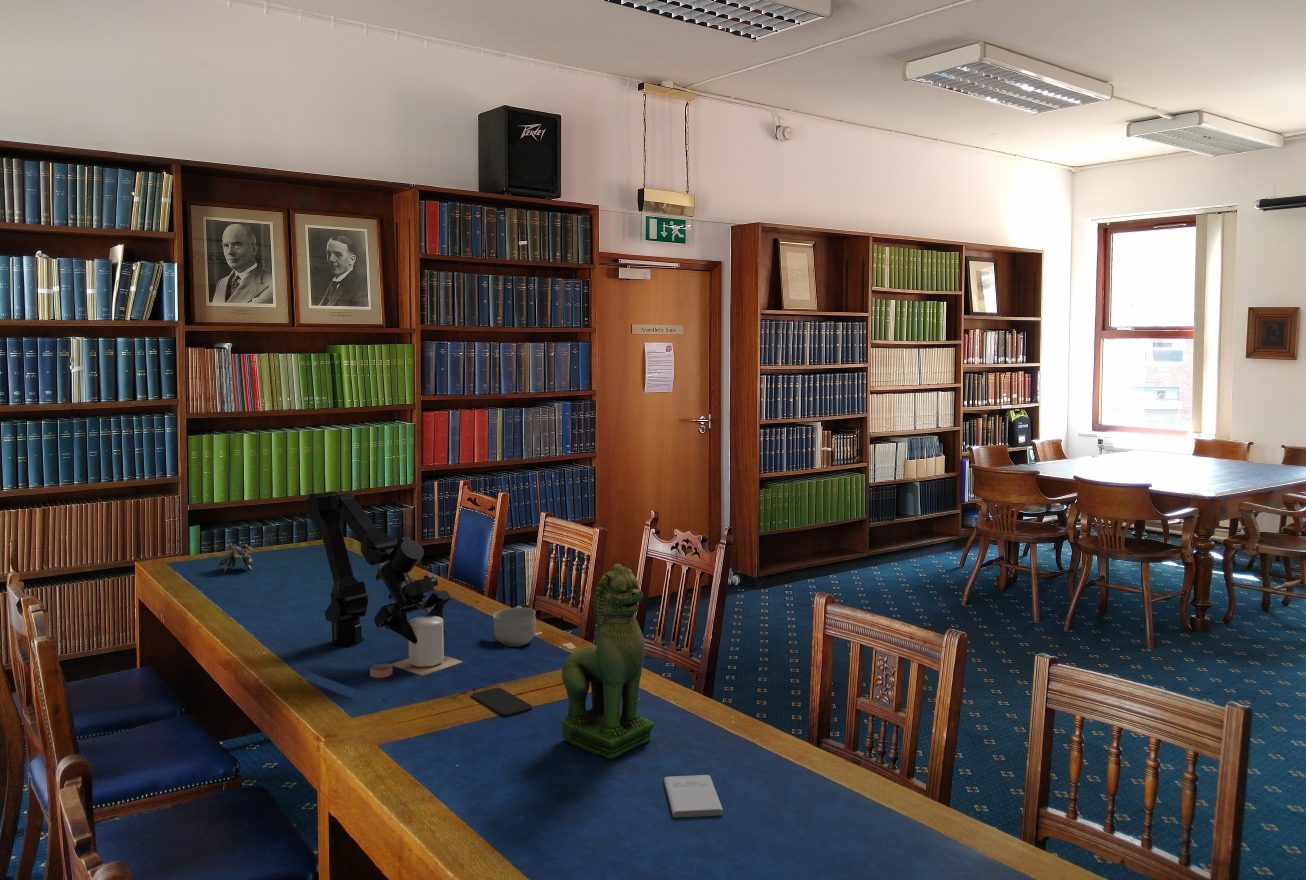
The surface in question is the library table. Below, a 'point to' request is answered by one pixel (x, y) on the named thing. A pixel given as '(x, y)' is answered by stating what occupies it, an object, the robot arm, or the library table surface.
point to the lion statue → (608, 673)
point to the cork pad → (426, 669)
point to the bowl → (381, 670)
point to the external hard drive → (692, 796)
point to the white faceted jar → (427, 641)
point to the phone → (501, 702)
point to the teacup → (515, 626)
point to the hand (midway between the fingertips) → (430, 638)
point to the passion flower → (236, 556)
